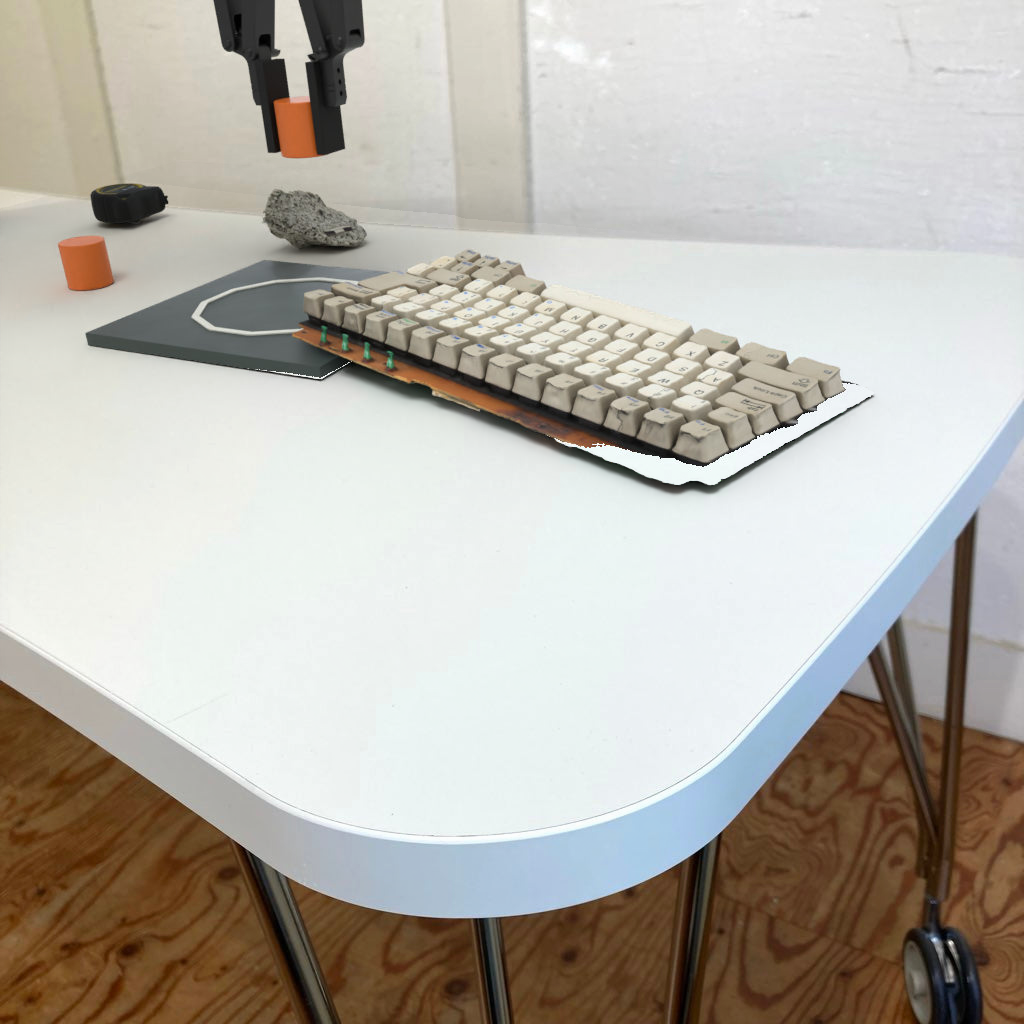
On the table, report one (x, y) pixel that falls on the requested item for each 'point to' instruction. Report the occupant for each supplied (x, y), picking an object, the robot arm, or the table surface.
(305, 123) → the short orange drum
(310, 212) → the rock sample
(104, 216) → the tape measure
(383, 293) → the mechanical keyboard
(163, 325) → the slate board
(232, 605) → the table surface
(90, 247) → the orange cylinder
